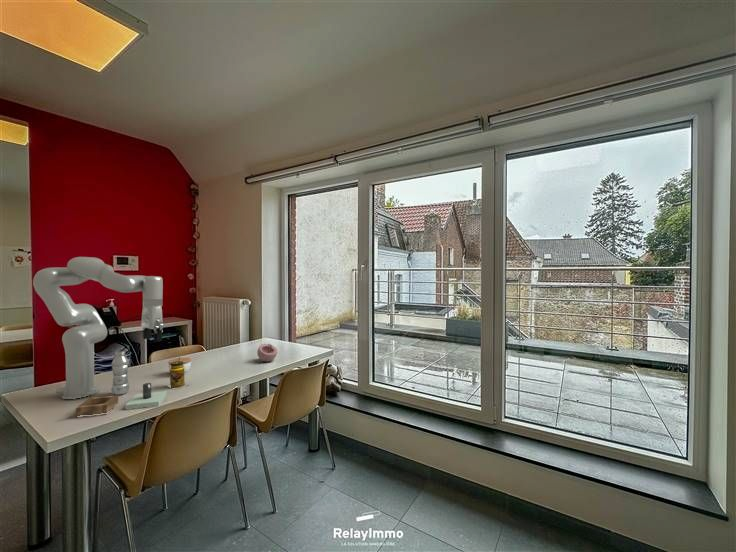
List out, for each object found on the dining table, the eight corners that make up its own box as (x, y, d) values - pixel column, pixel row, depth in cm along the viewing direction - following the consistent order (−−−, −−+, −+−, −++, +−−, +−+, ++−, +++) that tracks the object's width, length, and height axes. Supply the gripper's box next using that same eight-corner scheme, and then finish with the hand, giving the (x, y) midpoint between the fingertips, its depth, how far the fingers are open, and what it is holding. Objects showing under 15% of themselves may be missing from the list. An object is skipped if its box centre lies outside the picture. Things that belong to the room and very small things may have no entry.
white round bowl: (164, 375, 172) (164, 358, 172) (183, 369, 181) (183, 353, 181) (176, 378, 167) (176, 361, 167) (195, 372, 176) (195, 356, 176)
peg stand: (125, 409, 130) (124, 390, 130) (136, 398, 141) (136, 380, 141) (158, 406, 134) (158, 387, 133) (167, 395, 145) (167, 378, 145)
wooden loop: (75, 418, 123) (75, 407, 122) (89, 407, 132) (89, 397, 132) (106, 414, 126) (106, 404, 126) (118, 404, 135) (118, 395, 135)
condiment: (174, 390, 152) (173, 365, 151) (164, 386, 156) (164, 362, 155) (189, 385, 158) (188, 361, 158) (179, 382, 162) (179, 359, 162)
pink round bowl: (266, 365, 191) (266, 346, 191) (253, 362, 197) (253, 343, 197) (281, 360, 201) (281, 342, 201) (268, 357, 208) (268, 340, 207)
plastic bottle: (127, 389, 151) (126, 348, 150) (131, 393, 147) (130, 350, 146) (109, 394, 146) (109, 351, 145) (113, 397, 142) (113, 353, 141)
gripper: (134, 302, 146) (134, 338, 147) (153, 305, 137) (152, 344, 138) (152, 301, 153) (152, 336, 153) (171, 303, 144) (170, 341, 144)
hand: (152, 339), depth 145 cm, fingers open, 9 cm apart
